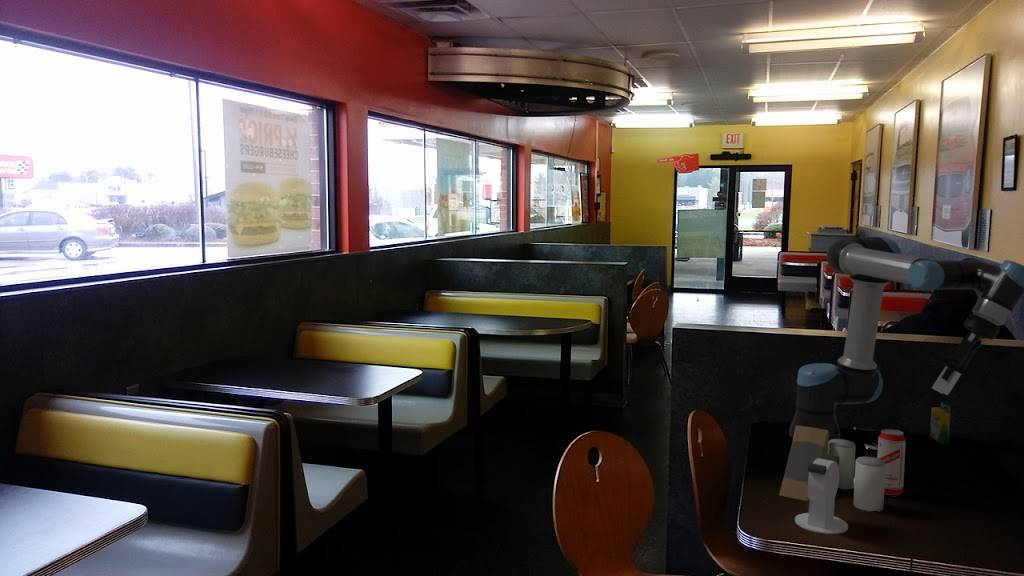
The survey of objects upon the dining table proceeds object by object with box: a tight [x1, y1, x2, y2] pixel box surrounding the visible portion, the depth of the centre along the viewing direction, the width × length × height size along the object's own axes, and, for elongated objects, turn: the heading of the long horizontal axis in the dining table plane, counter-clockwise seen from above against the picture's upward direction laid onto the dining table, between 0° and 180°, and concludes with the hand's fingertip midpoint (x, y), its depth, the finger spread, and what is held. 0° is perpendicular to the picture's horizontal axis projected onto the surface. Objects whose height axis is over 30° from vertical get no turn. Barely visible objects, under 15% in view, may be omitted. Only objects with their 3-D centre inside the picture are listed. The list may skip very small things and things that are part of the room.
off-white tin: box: [853, 456, 886, 512], centre depth 184 cm, size 7×7×12 cm
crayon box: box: [929, 401, 952, 445], centre depth 241 cm, size 7×3×12 cm, turn 172°
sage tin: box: [828, 438, 856, 490], centre depth 199 cm, size 7×7×12 cm
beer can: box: [876, 428, 907, 496], centre depth 193 cm, size 6×6×16 cm
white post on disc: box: [794, 454, 849, 535], centre depth 174 cm, size 12×11×15 cm
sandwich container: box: [779, 425, 829, 502], centre depth 195 cm, size 9×15×15 cm, turn 146°
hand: (939, 392), depth 193 cm, fingers open, 13 cm apart
